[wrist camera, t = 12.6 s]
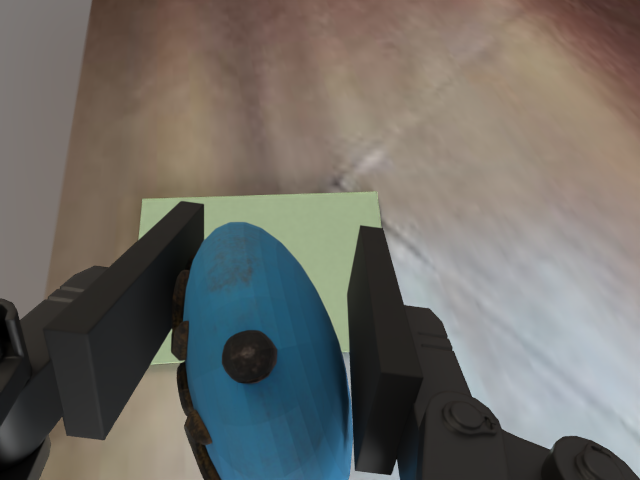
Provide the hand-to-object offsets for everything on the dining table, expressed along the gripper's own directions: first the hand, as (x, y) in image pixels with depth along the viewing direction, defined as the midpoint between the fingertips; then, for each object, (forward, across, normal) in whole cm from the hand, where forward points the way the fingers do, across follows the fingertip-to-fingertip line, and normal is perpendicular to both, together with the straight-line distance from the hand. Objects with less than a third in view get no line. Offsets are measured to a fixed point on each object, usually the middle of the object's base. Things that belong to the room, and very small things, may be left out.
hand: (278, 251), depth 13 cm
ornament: (0, 0, -5) cm, 5 cm away
